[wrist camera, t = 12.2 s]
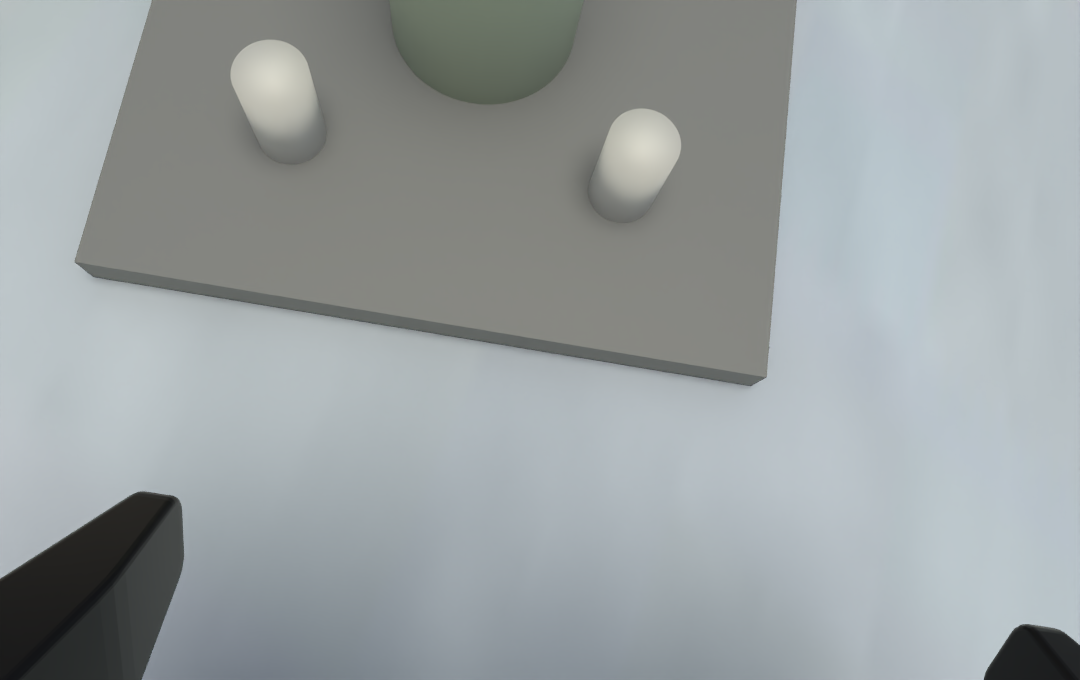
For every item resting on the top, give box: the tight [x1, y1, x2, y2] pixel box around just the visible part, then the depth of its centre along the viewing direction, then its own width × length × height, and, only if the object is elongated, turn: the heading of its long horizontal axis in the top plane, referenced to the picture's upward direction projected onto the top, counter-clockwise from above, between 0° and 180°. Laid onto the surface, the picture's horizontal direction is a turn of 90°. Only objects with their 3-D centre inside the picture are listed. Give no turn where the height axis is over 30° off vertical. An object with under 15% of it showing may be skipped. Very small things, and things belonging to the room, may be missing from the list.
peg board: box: [75, 0, 797, 386], centre depth 24 cm, size 18×18×4 cm
